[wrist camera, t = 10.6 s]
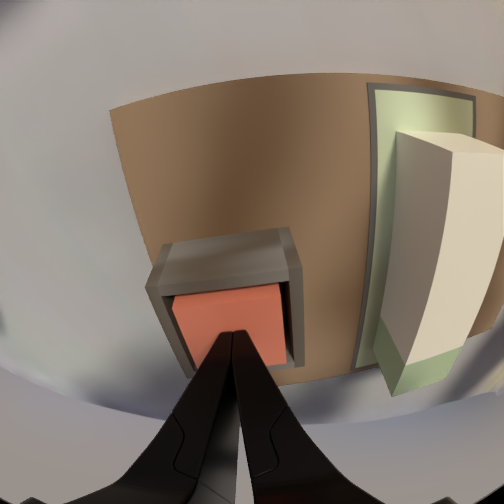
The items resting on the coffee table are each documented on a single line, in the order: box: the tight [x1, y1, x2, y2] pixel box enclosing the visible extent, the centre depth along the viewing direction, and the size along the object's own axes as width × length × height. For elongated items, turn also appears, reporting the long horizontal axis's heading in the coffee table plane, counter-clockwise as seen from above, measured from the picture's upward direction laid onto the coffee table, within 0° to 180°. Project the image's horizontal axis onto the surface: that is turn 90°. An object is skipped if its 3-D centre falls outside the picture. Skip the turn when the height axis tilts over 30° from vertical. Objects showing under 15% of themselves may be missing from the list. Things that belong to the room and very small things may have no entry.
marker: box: [373, 131, 504, 397], centre depth 10 cm, size 11×3×3 cm, turn 8°
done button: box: [172, 282, 287, 369], centre depth 10 cm, size 3×3×2 cm
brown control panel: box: [109, 73, 504, 386], centre depth 11 cm, size 20×15×3 cm
